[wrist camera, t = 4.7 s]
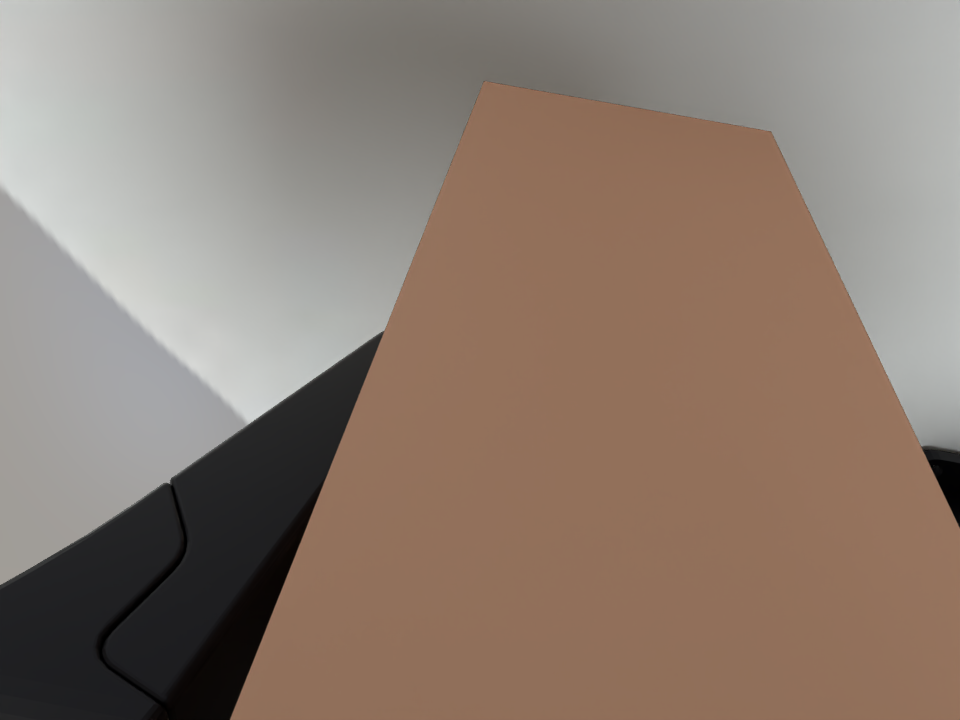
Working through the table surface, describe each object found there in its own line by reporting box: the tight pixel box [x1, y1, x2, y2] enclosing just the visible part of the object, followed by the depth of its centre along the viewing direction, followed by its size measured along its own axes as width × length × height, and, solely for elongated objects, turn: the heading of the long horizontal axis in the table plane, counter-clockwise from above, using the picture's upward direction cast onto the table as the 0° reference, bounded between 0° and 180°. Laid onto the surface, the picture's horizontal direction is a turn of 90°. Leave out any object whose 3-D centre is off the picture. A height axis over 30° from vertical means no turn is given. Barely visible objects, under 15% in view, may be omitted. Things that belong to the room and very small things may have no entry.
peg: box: [230, 81, 960, 720], centre depth 8 cm, size 4×4×10 cm
